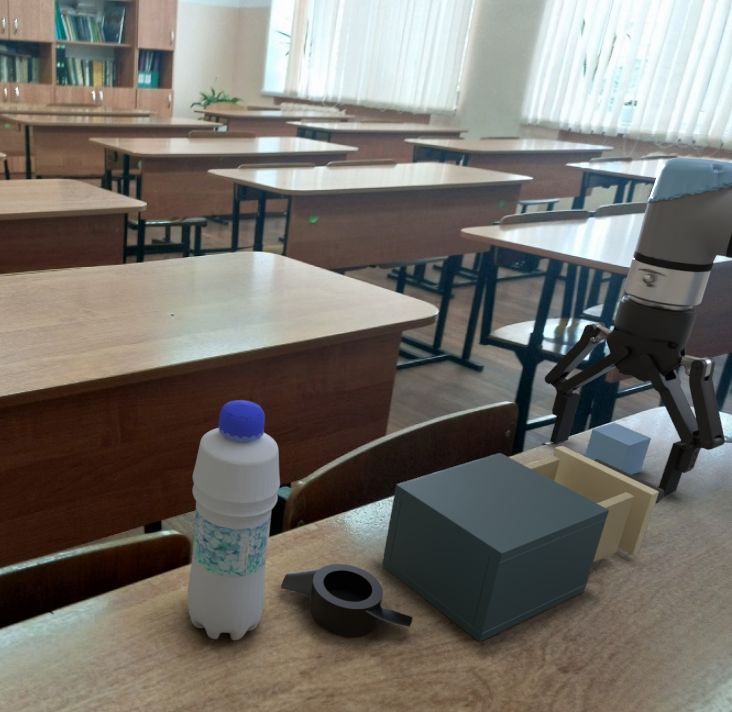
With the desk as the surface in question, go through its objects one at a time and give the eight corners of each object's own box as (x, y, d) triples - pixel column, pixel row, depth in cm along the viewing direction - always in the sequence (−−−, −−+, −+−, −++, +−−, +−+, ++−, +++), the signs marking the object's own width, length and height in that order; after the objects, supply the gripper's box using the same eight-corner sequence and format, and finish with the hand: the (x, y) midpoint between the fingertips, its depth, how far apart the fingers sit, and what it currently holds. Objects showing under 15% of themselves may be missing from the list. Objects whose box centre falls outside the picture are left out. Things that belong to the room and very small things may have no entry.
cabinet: (482, 527, 76) (500, 452, 73) (584, 592, 67) (609, 509, 64) (381, 565, 69) (396, 484, 66) (479, 642, 60) (501, 553, 57)
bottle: (278, 639, 59) (305, 417, 52) (202, 658, 57) (220, 429, 50) (241, 587, 65) (262, 381, 58) (171, 603, 63) (183, 390, 55)
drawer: (575, 491, 82) (590, 436, 80) (667, 539, 74) (687, 480, 72) (465, 531, 73) (478, 471, 71) (556, 591, 65) (574, 525, 63)
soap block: (604, 454, 93) (614, 422, 91) (640, 471, 89) (651, 438, 88) (582, 462, 91) (592, 429, 89) (618, 479, 87) (629, 445, 85)
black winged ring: (349, 668, 57) (354, 638, 56) (272, 592, 65) (275, 565, 64) (419, 635, 60) (425, 607, 59) (338, 567, 68) (342, 541, 67)
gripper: (540, 274, 91) (503, 427, 98) (769, 340, 71) (700, 525, 78) (577, 270, 94) (538, 417, 102) (805, 331, 74) (736, 509, 82)
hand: (609, 465), depth 90 cm, fingers open, 13 cm apart
